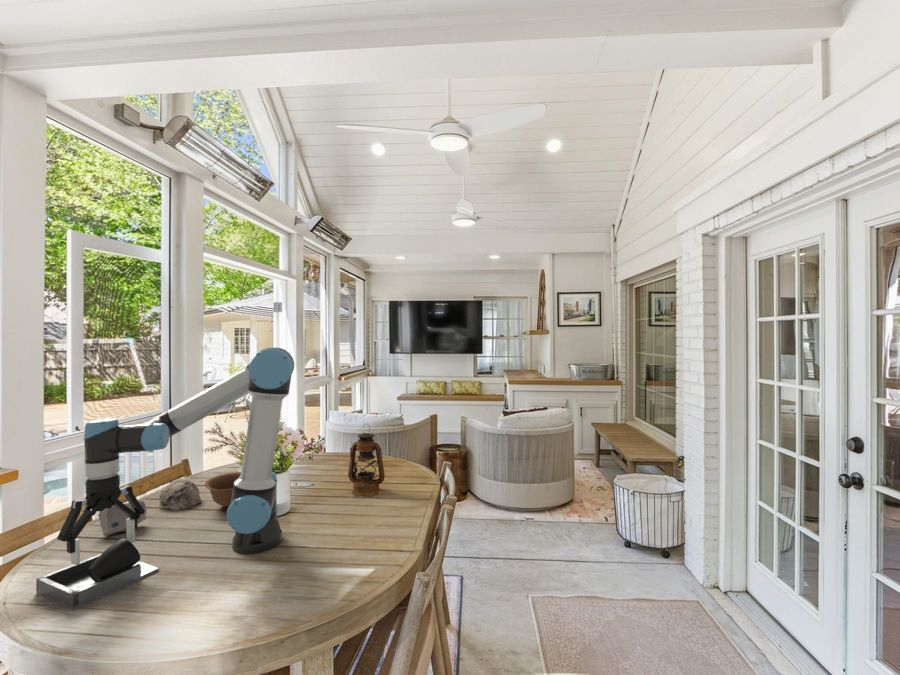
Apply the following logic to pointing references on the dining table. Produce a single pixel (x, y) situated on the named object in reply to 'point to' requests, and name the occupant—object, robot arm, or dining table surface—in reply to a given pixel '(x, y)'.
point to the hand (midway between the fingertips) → (104, 552)
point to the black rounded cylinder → (114, 560)
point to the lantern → (366, 479)
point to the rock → (179, 495)
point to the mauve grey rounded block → (117, 519)
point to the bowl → (222, 488)
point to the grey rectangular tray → (86, 583)
